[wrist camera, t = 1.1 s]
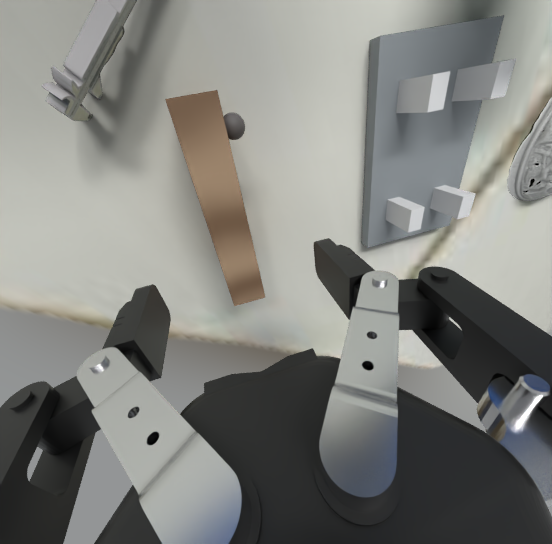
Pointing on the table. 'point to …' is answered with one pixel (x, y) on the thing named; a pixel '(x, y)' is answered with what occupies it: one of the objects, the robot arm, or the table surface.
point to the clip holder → (425, 124)
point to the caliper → (88, 58)
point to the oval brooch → (534, 161)
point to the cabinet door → (218, 186)
